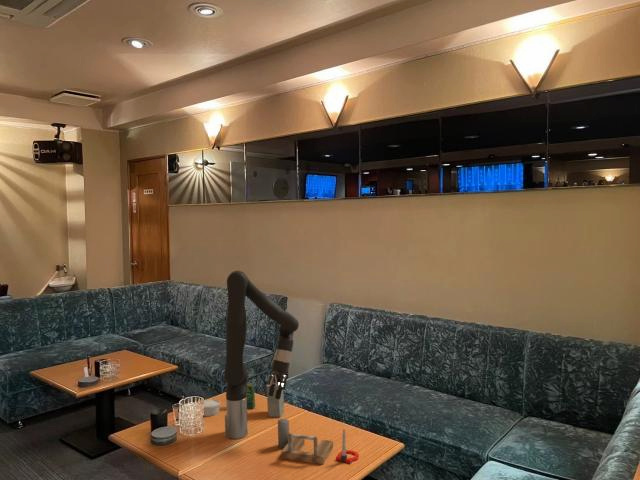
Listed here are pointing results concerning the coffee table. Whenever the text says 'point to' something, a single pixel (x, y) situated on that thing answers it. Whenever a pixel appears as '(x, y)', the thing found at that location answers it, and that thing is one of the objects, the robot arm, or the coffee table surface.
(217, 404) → the ramekin
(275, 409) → the skincare box
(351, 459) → the tow hook
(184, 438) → the coffee table surface
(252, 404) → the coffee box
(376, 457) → the coffee table surface
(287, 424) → the grey tapered capsule
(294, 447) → the wooden gate frame
